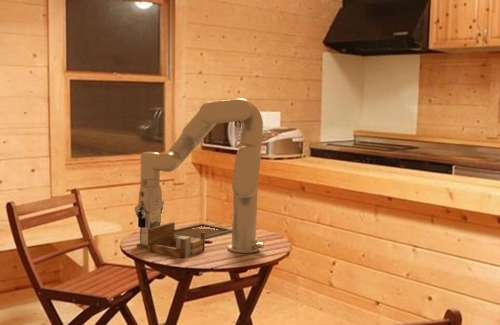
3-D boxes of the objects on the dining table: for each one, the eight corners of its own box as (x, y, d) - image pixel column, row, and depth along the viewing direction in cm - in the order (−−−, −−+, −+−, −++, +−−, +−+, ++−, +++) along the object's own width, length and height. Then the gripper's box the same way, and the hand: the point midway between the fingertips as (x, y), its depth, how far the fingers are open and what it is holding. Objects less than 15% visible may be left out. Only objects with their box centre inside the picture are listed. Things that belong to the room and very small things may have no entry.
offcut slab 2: (202, 252, 228) (202, 245, 227) (192, 255, 222) (192, 249, 222) (192, 250, 230) (192, 243, 230) (182, 253, 225) (182, 247, 224)
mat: (161, 245, 235) (161, 243, 235) (150, 248, 229) (150, 247, 229) (147, 242, 238) (147, 241, 238) (136, 246, 232) (136, 244, 232)
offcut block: (190, 254, 222) (190, 236, 221) (185, 257, 218) (185, 239, 218) (181, 253, 223) (181, 235, 223) (176, 255, 220) (176, 237, 219)
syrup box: (150, 241, 238) (150, 206, 236) (160, 244, 234) (160, 208, 233) (139, 243, 233) (140, 208, 232) (149, 246, 230) (150, 210, 228)
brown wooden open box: (205, 249, 230) (206, 227, 229) (182, 258, 216) (183, 234, 215) (171, 243, 238) (172, 222, 237) (147, 251, 224) (148, 228, 223)
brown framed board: (160, 232, 253) (206, 222, 276) (160, 236, 253) (206, 225, 277) (192, 240, 241) (237, 228, 265) (192, 243, 241) (237, 232, 265)
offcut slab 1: (202, 245, 228) (202, 239, 227) (193, 249, 222) (193, 242, 222) (192, 243, 230) (192, 237, 230) (182, 247, 224) (182, 240, 224)
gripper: (143, 186, 222) (143, 230, 223) (170, 181, 237) (170, 222, 239) (128, 184, 225) (127, 227, 227) (156, 179, 240) (155, 220, 242)
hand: (149, 225), depth 233 cm, fingers open, 9 cm apart
